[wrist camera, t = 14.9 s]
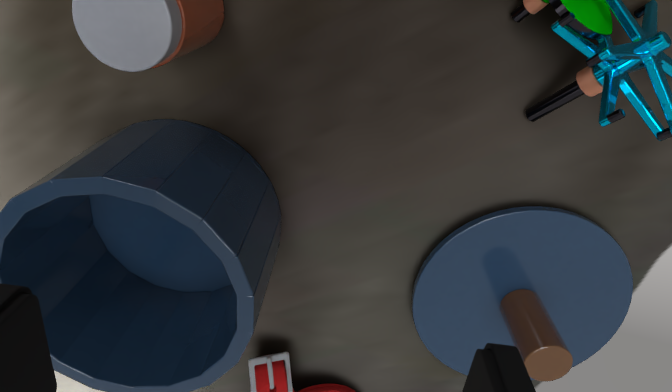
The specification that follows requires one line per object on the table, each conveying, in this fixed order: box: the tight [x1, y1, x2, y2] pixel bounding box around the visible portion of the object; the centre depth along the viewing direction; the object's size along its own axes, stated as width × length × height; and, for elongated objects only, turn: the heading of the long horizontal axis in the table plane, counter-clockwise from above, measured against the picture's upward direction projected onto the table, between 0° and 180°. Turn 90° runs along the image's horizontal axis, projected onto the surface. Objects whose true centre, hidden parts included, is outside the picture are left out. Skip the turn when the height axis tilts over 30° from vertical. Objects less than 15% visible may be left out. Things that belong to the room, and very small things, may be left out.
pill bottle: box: [72, 0, 224, 72], centre depth 21 cm, size 4×4×7 cm
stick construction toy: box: [511, 0, 672, 141], centre depth 22 cm, size 12×7×8 cm
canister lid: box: [412, 206, 633, 381], centre depth 28 cm, size 14×14×6 cm
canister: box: [0, 119, 281, 392], centre depth 26 cm, size 13×13×8 cm
